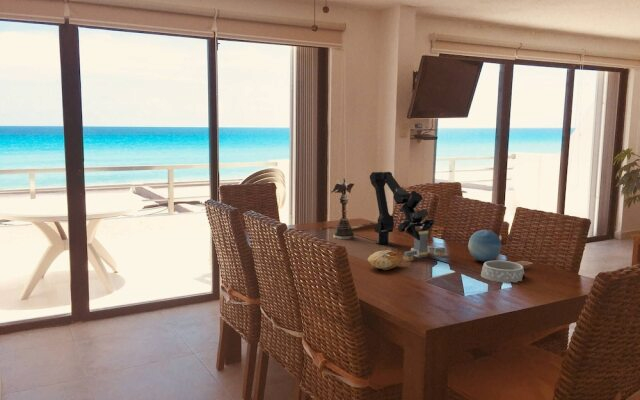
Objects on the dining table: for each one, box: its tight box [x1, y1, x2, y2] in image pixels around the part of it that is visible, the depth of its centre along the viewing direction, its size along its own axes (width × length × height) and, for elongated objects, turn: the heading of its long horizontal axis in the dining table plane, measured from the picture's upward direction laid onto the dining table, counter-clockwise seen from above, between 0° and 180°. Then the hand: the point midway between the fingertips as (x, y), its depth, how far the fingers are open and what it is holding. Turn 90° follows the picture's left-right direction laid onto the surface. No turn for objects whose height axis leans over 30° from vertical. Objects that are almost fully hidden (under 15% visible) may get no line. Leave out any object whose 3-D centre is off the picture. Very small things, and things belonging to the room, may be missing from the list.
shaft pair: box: [402, 245, 447, 262], centre depth 267 cm, size 6×23×5 cm, turn 116°
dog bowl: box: [480, 260, 526, 284], centre depth 235 cm, size 17×18×5 cm
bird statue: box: [330, 177, 355, 240], centre depth 314 cm, size 17×13×35 cm
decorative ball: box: [467, 229, 502, 263], centre depth 259 cm, size 15×15×15 cm
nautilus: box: [367, 249, 411, 271], centre depth 247 cm, size 8×21×15 cm
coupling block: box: [413, 228, 429, 259], centre depth 269 cm, size 5×5×13 cm
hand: (423, 239), depth 267 cm, fingers closed on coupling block, 5 cm apart
